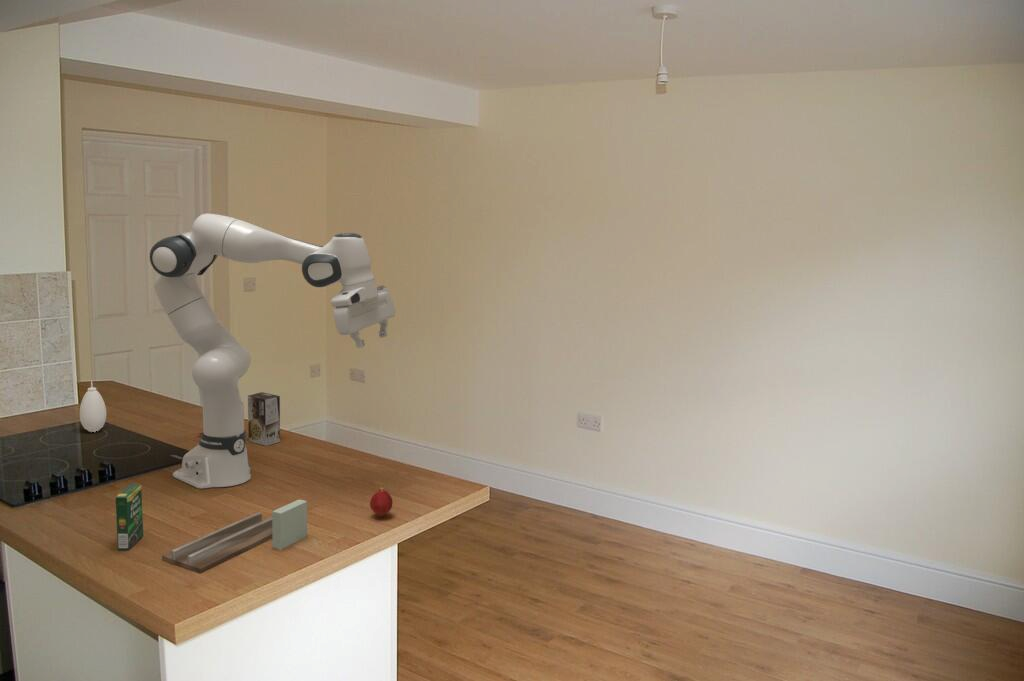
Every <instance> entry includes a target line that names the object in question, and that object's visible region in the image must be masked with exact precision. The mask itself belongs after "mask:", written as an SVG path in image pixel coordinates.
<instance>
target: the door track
mask: <svg viewBox="0 0 1024 681" xmlns="http://www.w3.org/2000/svg"><path fill="white" fill-rule="evenodd" d="M262 516H263V515H262V512H260V511H258V512H256V513H254V514H251V515H248V516H247V517H245V518H244V517H243V518H242V519H240V520H237V521H235V522H233V523H230V524H228V525H227V526H224V527H221V528H219V529H217V530H215V531H212V532H210V533H207V534H206V535H203V536H202V537H201V536H200V537H199V538H196V539H195V540H191V541H190V542H187V543H185V544H183V545H181V546H179V547H175V548H173V549H172V550H171V551H170V552H167V553H165V554H164V555H161V560H162V561H164V562H167V563H171V565H172V564H173V565H175V566H178V567H182V568H185V569H187V570H191V571H193V572H196V573H200V574H202V573H204V572H206V571H208V570H210V569H212V568H214V567H217V566H219V565H221V564H222V563H224V562H226V561H228V559H229V560H231V559H233V558H235V557H236V556H239V555H240V554H243V553H245V552H247V551H249V550H251V549H252V548H255V547H258V546H259V545H261V544H263V543H265V542H267V541H269V540H271V539H273V535H272V516H271V517H269V518H267V519H264V520H262V519H263V517H262ZM234 556H235V557H234ZM232 557H233V558H232Z"/></svg>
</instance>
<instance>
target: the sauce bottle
mask: <svg viewBox="0 0 1024 681" xmlns="http://www.w3.org/2000/svg"><path fill="white" fill-rule="evenodd" d="M90 380H91V379H90ZM79 420H80V421H79V422H80V424H81V425H82V427H83V429H84V430H87V432H89V433H92V432H94V433H97V432H99V431H100V430H101V429H102V428H103V427H104V426H105V423H106V420H107V407H106V404H105V401H104V399H103V396H102V395H101V393H100V392H99V391H98V389H97V387H94V384H93V380H91V381H90V387H88V388H87V391H86V392H85V394H84V395H83V397H82V399H81V403H80V408H79ZM96 431H97V432H96Z"/></svg>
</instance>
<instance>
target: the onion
mask: <svg viewBox="0 0 1024 681" xmlns="http://www.w3.org/2000/svg"><path fill="white" fill-rule="evenodd" d="M369 507H370V510H371V511H372V513H374V514H376V515H377V516H378V517H379V518H382V517H384V516H385V515H387V514H388V513H390V511H391V510H392V507H393V498H392V496H391V495H390V494H389V492H388V491H386V490H385V489H384V488H383V487H379V489H378V490H377V491H376V492H375V493H373V494H372V496H371V498H370V502H369Z"/></svg>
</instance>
